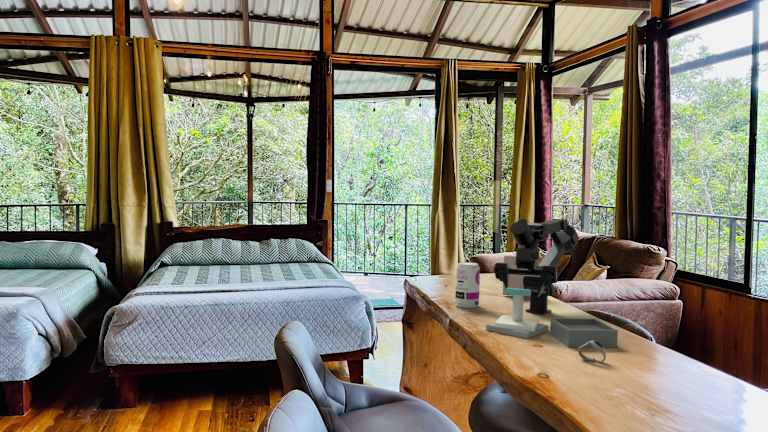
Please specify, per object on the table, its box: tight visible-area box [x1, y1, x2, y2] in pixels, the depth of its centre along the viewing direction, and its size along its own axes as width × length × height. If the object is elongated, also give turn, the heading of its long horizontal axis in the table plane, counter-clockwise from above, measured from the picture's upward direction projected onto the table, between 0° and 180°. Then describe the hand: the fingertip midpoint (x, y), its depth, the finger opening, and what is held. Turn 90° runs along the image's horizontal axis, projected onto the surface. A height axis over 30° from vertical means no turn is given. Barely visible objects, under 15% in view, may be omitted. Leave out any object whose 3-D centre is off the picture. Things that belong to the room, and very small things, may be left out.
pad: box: [485, 321, 550, 339], centre depth 156 cm, size 13×13×2 cm
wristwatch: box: [578, 341, 607, 364], centre depth 128 cm, size 4×6×5 cm, turn 58°
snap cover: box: [494, 288, 540, 331], centre depth 155 cm, size 11×11×10 cm
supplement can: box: [454, 261, 481, 309], centre depth 187 cm, size 8×8×15 cm
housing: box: [549, 317, 619, 348], centre depth 145 cm, size 13×13×4 cm
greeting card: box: [502, 255, 527, 297], centre depth 208 cm, size 11×7×15 cm, turn 58°
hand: (522, 295), depth 161 cm, fingers open, 9 cm apart
